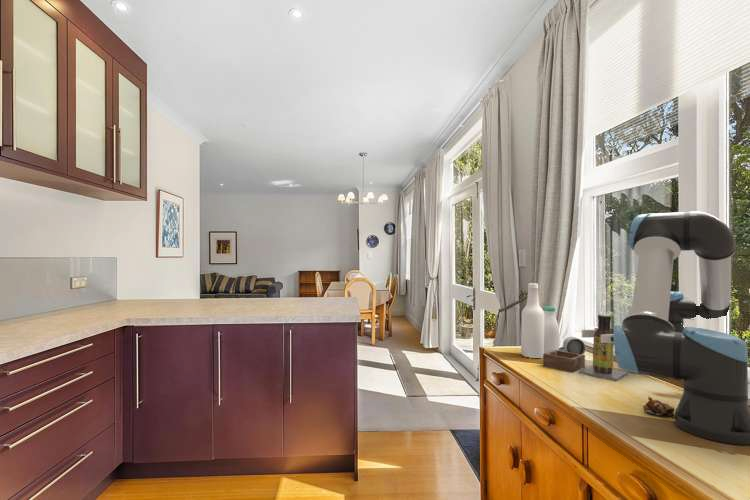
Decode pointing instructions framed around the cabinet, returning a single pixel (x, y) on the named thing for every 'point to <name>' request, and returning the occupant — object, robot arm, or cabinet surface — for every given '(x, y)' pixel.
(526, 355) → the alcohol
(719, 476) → the cabinet surface
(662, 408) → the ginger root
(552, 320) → the milk bottle
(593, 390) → the cabinet surface
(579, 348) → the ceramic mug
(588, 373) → the slate tile
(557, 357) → the walnut collar
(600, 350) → the sauce bottle
